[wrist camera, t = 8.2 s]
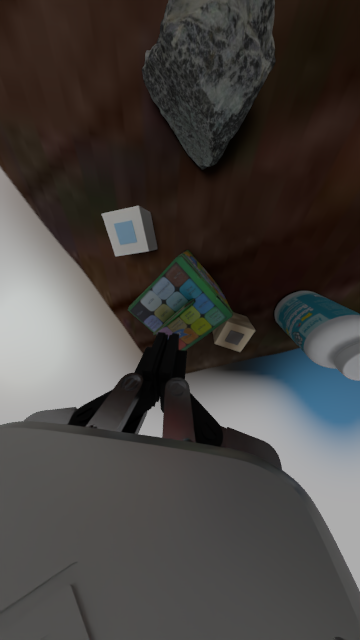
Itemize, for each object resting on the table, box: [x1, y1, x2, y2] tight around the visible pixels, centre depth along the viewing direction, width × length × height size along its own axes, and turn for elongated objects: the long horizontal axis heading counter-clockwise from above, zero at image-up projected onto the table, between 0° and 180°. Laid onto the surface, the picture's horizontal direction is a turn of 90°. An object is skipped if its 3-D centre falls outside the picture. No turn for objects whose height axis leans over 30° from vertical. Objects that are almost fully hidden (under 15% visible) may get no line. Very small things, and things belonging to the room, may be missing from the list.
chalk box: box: [128, 250, 233, 351], centre depth 20 cm, size 9×9×15 cm
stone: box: [142, 0, 275, 169], centre depth 14 cm, size 10×10×10 cm
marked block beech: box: [213, 312, 255, 352], centre depth 27 cm, size 5×5×5 cm
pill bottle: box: [274, 291, 360, 381], centre depth 20 cm, size 8×7×14 cm
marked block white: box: [102, 206, 158, 256], centre depth 21 cm, size 5×5×5 cm
